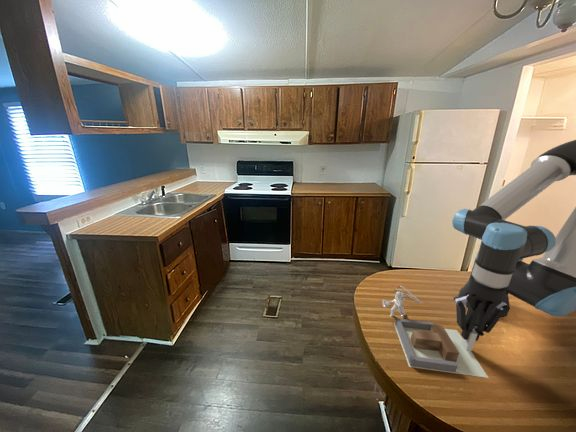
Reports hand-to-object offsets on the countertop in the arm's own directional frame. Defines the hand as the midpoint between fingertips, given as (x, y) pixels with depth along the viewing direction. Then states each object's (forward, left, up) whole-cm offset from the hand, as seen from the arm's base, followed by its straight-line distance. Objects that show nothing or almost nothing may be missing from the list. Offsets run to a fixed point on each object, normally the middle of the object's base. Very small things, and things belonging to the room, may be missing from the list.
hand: (466, 346), depth 69 cm
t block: (+10, 0, -1) cm, 10 cm away
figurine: (+17, -11, -3) cm, 21 cm away
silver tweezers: (+6, -23, -3) cm, 24 cm away
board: (+8, 0, -2) cm, 9 cm away
